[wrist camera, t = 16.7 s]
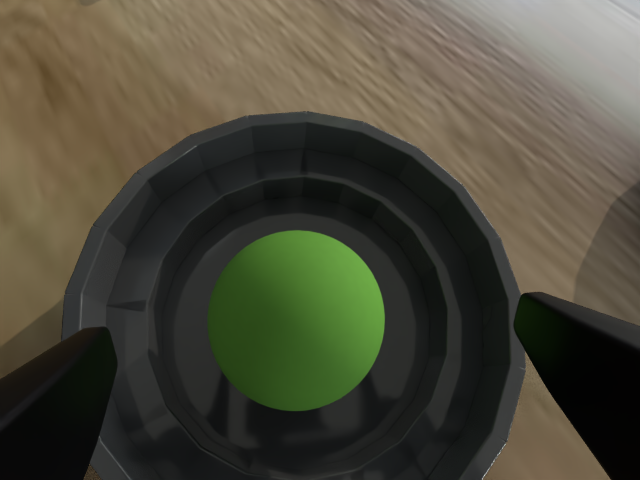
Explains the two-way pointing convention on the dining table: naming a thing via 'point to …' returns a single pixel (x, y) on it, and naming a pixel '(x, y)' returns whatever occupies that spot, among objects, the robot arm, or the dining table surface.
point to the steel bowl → (338, 223)
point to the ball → (296, 320)
